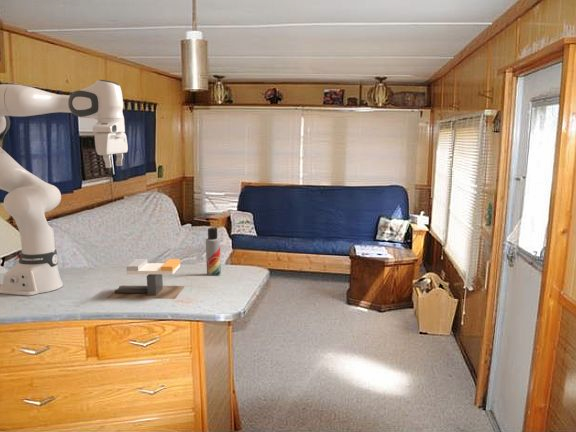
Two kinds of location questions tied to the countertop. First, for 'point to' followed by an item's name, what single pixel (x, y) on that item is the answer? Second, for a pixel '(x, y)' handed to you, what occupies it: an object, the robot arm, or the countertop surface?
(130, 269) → the block
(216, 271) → the lotion bottle
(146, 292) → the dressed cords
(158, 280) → the block
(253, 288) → the countertop surface
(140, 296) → the mounting board
